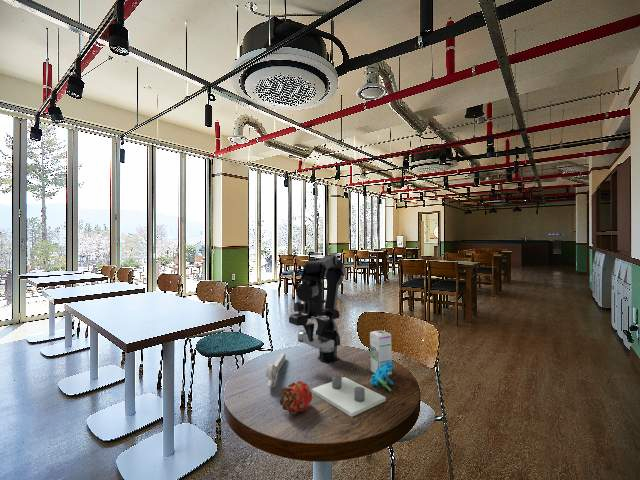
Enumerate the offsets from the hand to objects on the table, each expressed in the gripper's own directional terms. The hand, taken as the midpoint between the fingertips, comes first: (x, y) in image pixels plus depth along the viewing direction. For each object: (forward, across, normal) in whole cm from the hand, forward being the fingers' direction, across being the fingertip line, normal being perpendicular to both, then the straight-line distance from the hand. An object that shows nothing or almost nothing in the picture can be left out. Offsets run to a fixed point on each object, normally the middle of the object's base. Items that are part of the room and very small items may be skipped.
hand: (315, 340), depth 113 cm
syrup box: (+12, -20, +13) cm, 27 cm away
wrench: (+12, +11, -8) cm, 18 cm away
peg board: (+12, +2, +19) cm, 22 cm away
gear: (+12, -13, +20) cm, 27 cm away
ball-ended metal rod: (+2, 0, 0) cm, 2 cm away
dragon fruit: (+12, +18, +15) cm, 27 cm away
